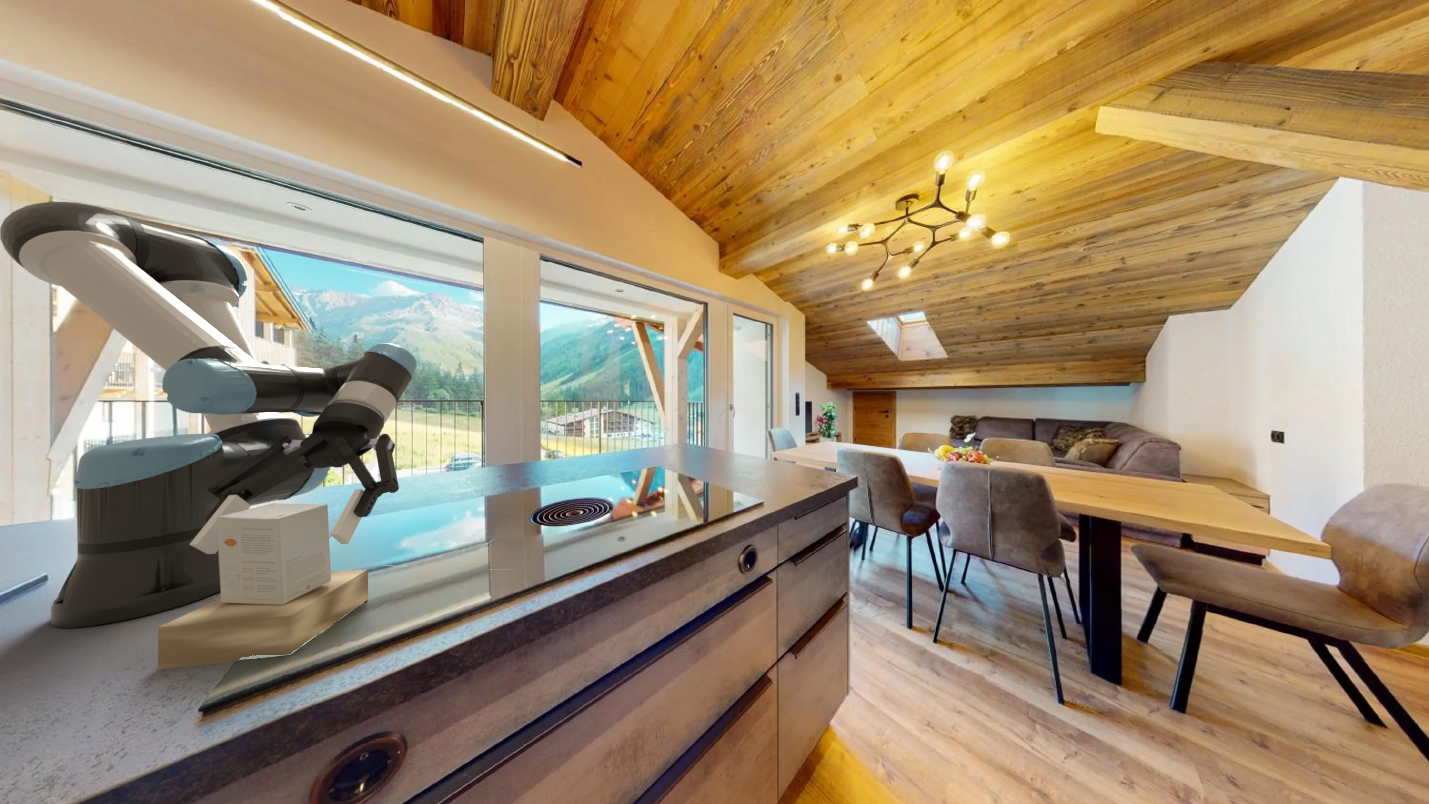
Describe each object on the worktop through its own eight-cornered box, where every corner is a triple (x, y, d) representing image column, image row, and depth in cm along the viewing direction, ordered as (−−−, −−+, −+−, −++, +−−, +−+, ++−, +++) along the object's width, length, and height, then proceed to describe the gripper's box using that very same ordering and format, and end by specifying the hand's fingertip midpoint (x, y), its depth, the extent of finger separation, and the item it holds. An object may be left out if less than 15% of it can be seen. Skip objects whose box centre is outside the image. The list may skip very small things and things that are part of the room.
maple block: (268, 612, 52) (268, 576, 52) (368, 603, 54) (367, 569, 54) (158, 673, 41) (158, 627, 40) (290, 659, 43) (290, 615, 43)
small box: (332, 582, 50) (330, 503, 50) (281, 606, 44) (279, 518, 44) (275, 580, 50) (273, 501, 50) (218, 603, 45) (215, 516, 45)
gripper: (451, 429, 66) (403, 547, 52) (276, 432, 61) (167, 566, 46) (436, 399, 61) (377, 521, 47) (242, 400, 56) (108, 539, 41)
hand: (272, 544), depth 47 cm, fingers open, 13 cm apart
